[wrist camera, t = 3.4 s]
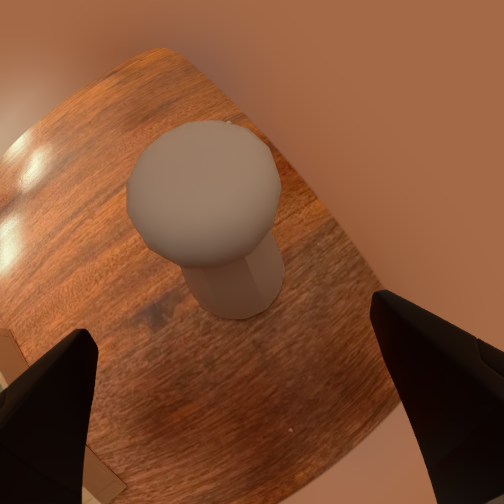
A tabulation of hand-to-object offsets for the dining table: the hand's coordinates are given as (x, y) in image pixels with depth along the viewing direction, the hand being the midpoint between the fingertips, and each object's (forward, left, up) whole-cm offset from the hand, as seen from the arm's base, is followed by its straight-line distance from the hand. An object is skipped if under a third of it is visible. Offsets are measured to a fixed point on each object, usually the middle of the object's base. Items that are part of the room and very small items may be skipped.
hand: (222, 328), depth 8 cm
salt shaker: (+2, -3, -11) cm, 11 cm away
